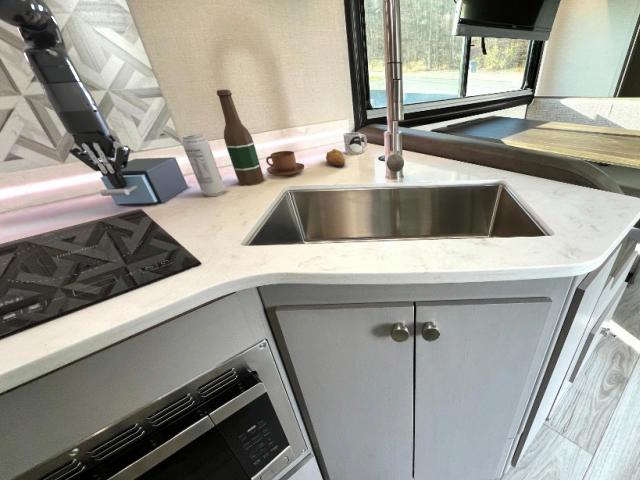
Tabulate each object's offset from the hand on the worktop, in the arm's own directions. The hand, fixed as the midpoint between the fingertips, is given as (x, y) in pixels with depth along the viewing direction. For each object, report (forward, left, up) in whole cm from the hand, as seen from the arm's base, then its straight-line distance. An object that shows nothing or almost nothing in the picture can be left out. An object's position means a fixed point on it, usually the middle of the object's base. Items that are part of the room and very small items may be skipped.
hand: (121, 187), depth 79 cm
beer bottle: (+24, +20, -6) cm, 32 cm away
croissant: (+48, +38, -6) cm, 61 cm away
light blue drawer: (0, +5, -5) cm, 7 cm away
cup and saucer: (+33, +28, -6) cm, 44 cm away
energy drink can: (+17, +10, -6) cm, 20 cm away
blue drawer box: (0, +10, -6) cm, 11 cm away
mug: (+54, +56, -6) cm, 78 cm away
